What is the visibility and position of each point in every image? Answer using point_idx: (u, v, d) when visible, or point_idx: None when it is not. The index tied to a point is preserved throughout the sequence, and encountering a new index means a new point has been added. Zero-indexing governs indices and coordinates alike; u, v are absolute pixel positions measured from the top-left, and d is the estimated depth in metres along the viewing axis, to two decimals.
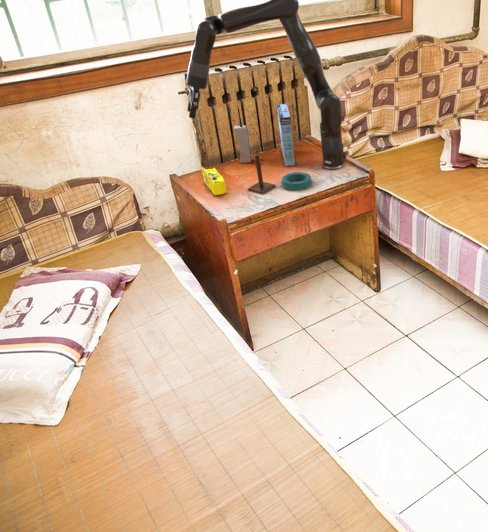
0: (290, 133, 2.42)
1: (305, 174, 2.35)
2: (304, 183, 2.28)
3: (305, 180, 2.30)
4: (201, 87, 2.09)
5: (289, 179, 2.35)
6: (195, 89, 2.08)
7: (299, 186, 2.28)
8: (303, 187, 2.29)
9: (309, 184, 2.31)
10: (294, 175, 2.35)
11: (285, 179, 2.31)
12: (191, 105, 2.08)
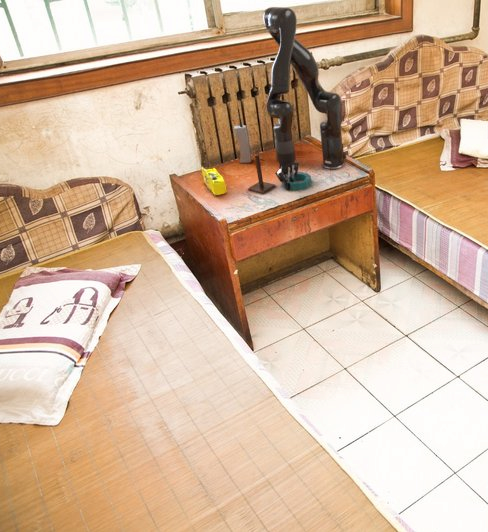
0: None
1: (305, 174, 2.35)
2: (304, 183, 2.28)
3: (305, 180, 2.30)
4: (284, 162, 2.20)
5: None
6: (280, 165, 2.21)
7: (299, 186, 2.28)
8: (303, 187, 2.29)
9: (309, 184, 2.31)
10: None
11: None
12: None
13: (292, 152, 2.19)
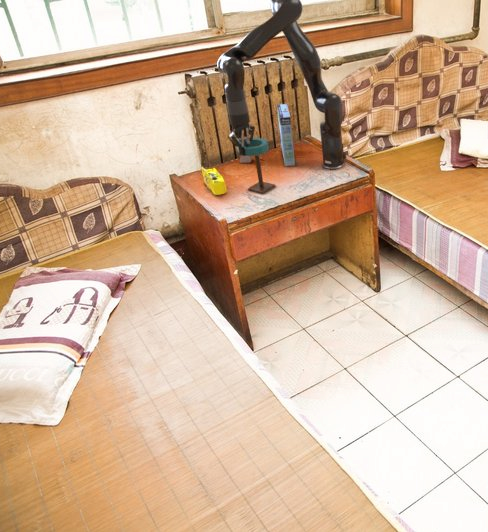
0: (290, 133, 2.42)
1: (262, 139, 2.21)
2: (260, 148, 2.15)
3: (261, 145, 2.16)
4: (237, 124, 2.06)
5: None
6: (232, 127, 2.07)
7: (254, 151, 2.14)
8: (259, 152, 2.15)
9: (266, 150, 2.18)
10: (251, 141, 2.22)
11: None
12: (234, 144, 2.11)
13: (245, 113, 2.06)
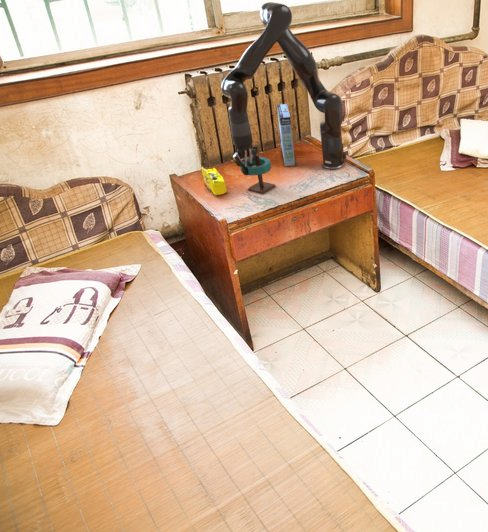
0: (290, 133, 2.42)
1: (265, 159, 2.26)
2: (263, 168, 2.19)
3: (264, 165, 2.21)
4: (240, 145, 2.11)
5: None
6: (236, 148, 2.12)
7: (257, 171, 2.19)
8: (262, 172, 2.20)
9: (268, 169, 2.22)
10: None
11: None
12: (237, 164, 2.16)
13: (248, 135, 2.10)
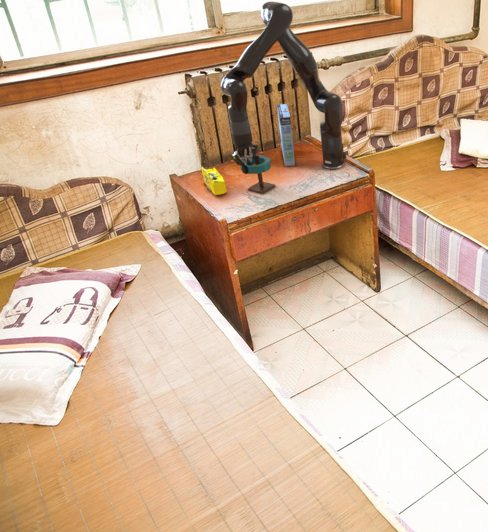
0: (290, 133, 2.42)
1: (265, 157, 2.25)
2: (262, 166, 2.19)
3: (264, 163, 2.20)
4: (240, 144, 2.10)
5: None
6: (235, 146, 2.11)
7: (257, 169, 2.19)
8: (261, 170, 2.20)
9: (268, 167, 2.22)
10: None
11: None
12: None
13: (248, 133, 2.10)
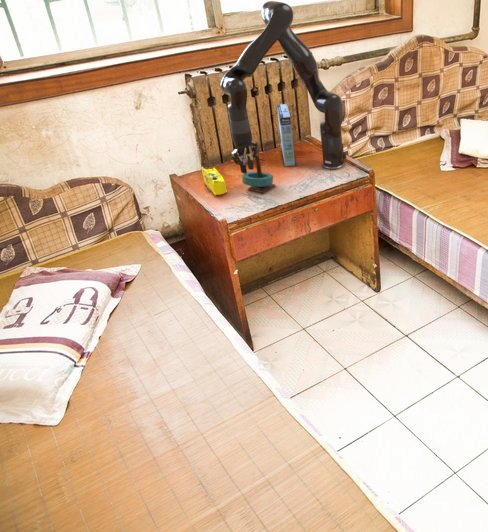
0: (290, 133, 2.42)
1: (267, 174, 2.30)
2: (265, 180, 2.23)
3: (266, 177, 2.24)
4: (240, 143, 2.10)
5: (250, 177, 2.29)
6: (235, 145, 2.11)
7: (259, 182, 2.22)
8: (263, 184, 2.23)
9: (270, 182, 2.26)
10: (256, 174, 2.30)
11: (246, 175, 2.25)
12: None
13: (248, 132, 2.10)
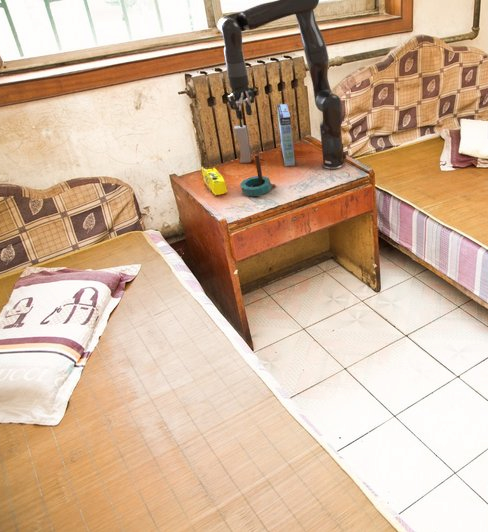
0: (290, 133, 2.42)
1: (266, 179, 2.29)
2: (260, 189, 2.22)
3: (262, 186, 2.23)
4: (236, 86, 2.09)
5: (250, 183, 2.30)
6: (232, 89, 2.10)
7: (254, 192, 2.22)
8: (259, 193, 2.23)
9: (267, 190, 2.25)
10: (256, 179, 2.30)
11: (244, 183, 2.26)
12: (231, 107, 2.13)
13: (244, 75, 2.09)
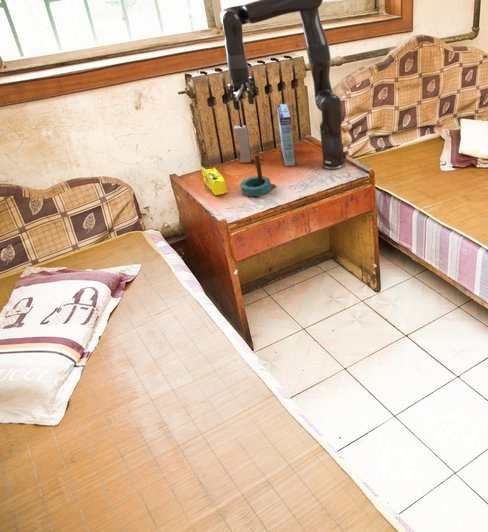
0: (290, 133, 2.42)
1: (266, 179, 2.29)
2: (260, 189, 2.22)
3: (262, 186, 2.23)
4: (237, 78, 2.11)
5: (250, 183, 2.30)
6: (232, 81, 2.12)
7: (254, 192, 2.22)
8: (259, 193, 2.23)
9: (267, 190, 2.25)
10: (256, 179, 2.30)
11: (244, 183, 2.26)
12: None
13: (245, 67, 2.11)
